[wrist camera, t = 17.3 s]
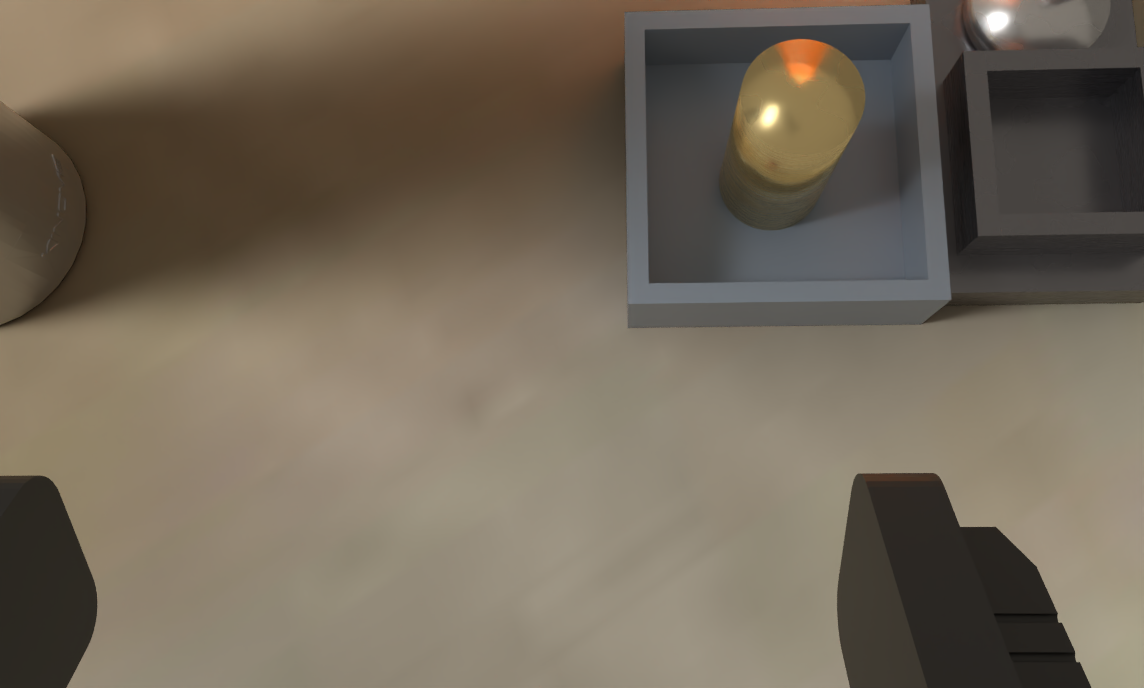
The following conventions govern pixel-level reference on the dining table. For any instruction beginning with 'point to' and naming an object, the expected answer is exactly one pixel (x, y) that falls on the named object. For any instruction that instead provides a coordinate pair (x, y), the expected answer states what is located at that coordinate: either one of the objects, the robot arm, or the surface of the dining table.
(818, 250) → the tray
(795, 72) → the cylinder
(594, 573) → the dining table surface
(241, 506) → the dining table surface
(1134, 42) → the crank housing
